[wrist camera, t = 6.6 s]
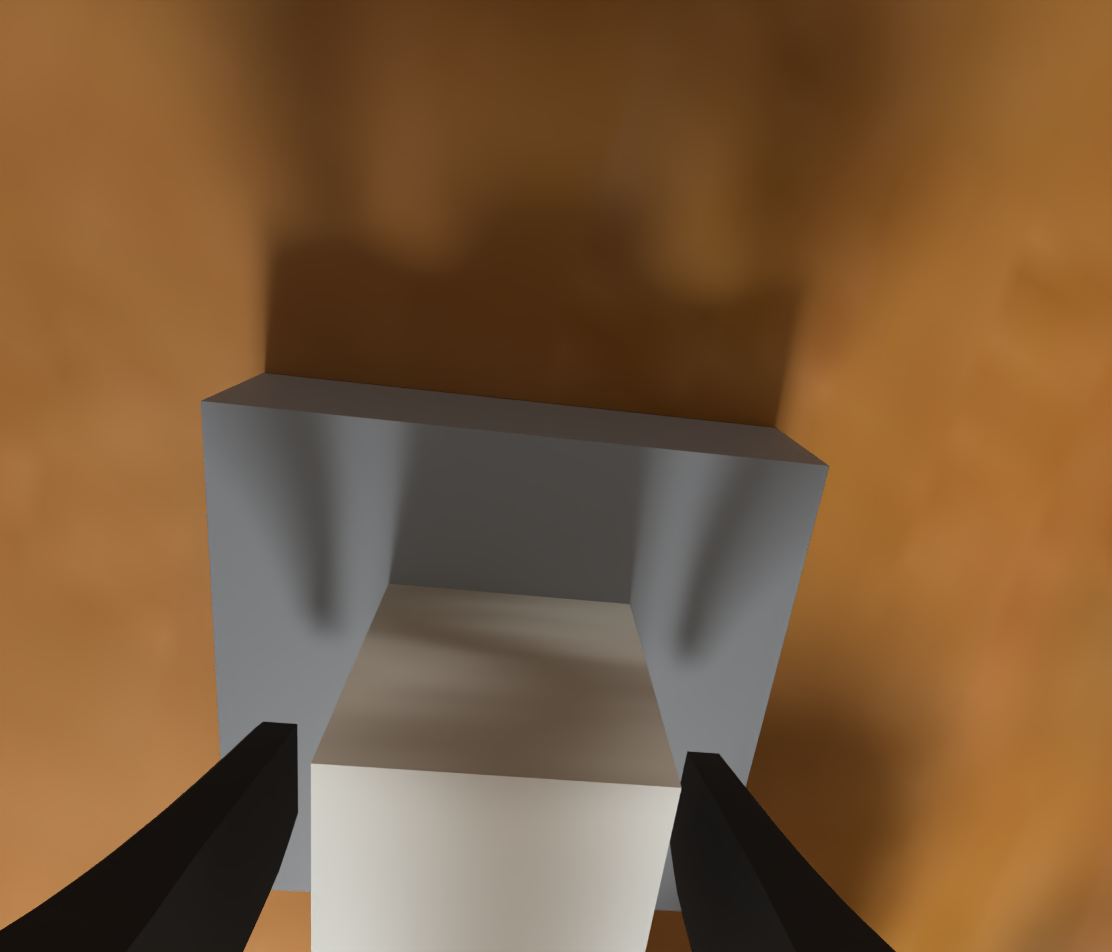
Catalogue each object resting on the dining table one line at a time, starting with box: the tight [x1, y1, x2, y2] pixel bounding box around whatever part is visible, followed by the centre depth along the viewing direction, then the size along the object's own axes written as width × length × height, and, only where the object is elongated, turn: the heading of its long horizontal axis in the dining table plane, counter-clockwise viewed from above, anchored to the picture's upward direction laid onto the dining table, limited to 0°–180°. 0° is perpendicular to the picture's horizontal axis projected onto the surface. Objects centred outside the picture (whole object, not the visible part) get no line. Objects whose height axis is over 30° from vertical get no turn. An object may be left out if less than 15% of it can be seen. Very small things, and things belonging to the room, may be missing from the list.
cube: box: [311, 584, 681, 952], centre depth 12 cm, size 5×5×5 cm
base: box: [201, 373, 829, 911], centre depth 16 cm, size 12×12×3 cm
